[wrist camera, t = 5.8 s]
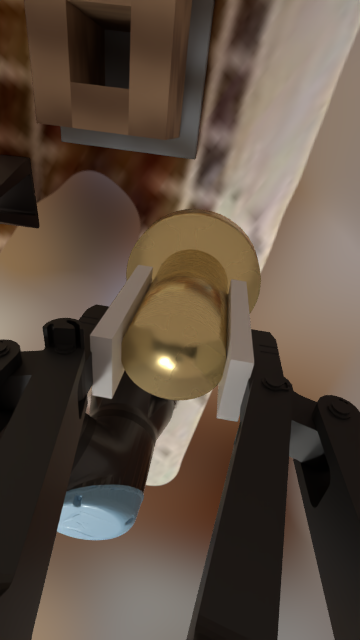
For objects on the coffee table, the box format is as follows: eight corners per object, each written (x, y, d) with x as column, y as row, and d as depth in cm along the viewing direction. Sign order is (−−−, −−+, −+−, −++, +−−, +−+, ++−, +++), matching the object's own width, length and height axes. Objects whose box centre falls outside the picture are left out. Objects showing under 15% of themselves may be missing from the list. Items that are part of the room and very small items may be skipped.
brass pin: (240, 285, 28) (249, 444, 14) (155, 272, 28) (80, 412, 14) (261, 193, 24) (303, 285, 10) (162, 180, 25) (68, 249, 10)
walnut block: (195, 158, 39) (184, 167, 30) (67, 140, 40) (19, 144, 31) (218, -30, 31) (212, -95, 22) (55, -46, 32) (-15, -115, 23)
